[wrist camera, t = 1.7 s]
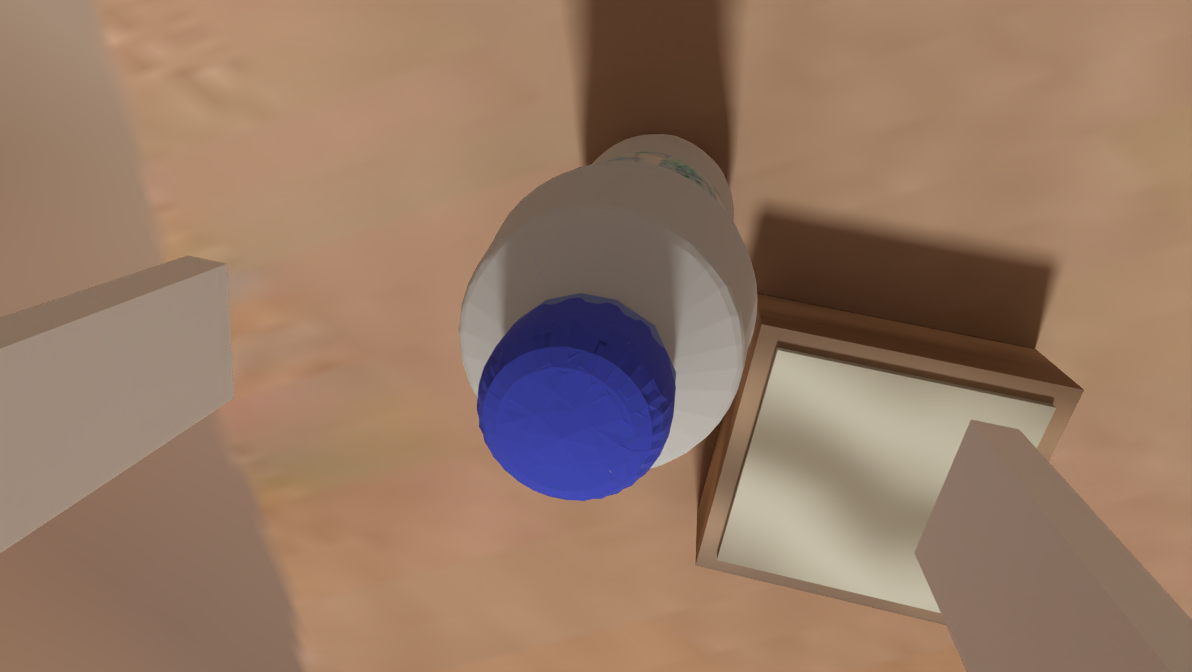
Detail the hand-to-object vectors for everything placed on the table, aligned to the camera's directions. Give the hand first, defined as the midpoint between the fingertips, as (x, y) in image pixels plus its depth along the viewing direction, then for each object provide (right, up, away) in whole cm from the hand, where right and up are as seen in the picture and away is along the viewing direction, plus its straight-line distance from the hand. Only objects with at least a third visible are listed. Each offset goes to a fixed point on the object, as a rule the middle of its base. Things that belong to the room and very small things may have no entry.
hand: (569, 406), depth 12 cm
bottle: (+3, +7, +17) cm, 19 cm away
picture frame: (+12, -4, +19) cm, 23 cm away
